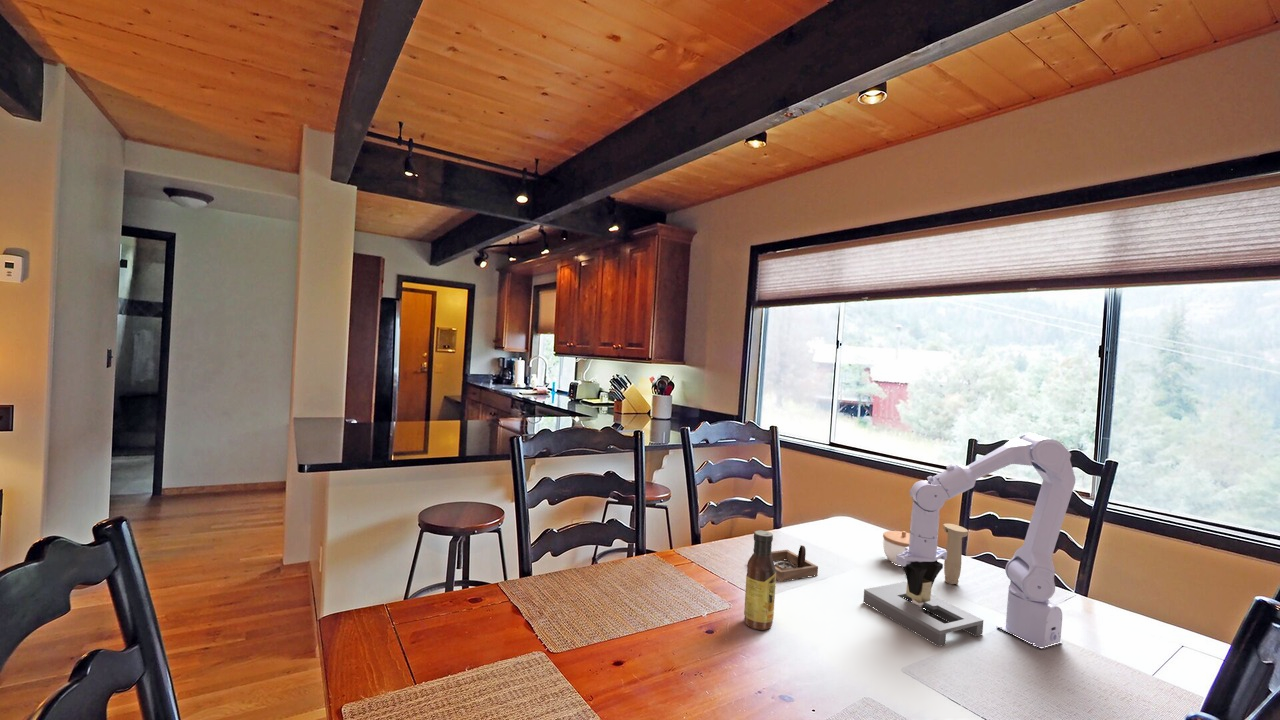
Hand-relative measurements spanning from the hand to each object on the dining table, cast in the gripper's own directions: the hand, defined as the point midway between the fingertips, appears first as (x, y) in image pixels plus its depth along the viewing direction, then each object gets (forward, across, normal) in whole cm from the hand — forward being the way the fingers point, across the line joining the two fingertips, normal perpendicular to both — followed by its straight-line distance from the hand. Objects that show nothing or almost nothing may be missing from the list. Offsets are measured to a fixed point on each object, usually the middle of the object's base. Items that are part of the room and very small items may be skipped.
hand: (919, 592), depth 127 cm
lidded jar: (+6, -24, -24) cm, 35 cm away
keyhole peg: (+5, 0, 0) cm, 5 cm away
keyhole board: (+6, 0, +1) cm, 6 cm away
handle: (+6, -26, -10) cm, 29 cm away
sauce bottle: (+6, +38, -10) cm, 40 cm away
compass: (+6, +13, -30) cm, 33 cm away
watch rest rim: (+6, +13, -31) cm, 34 cm away
